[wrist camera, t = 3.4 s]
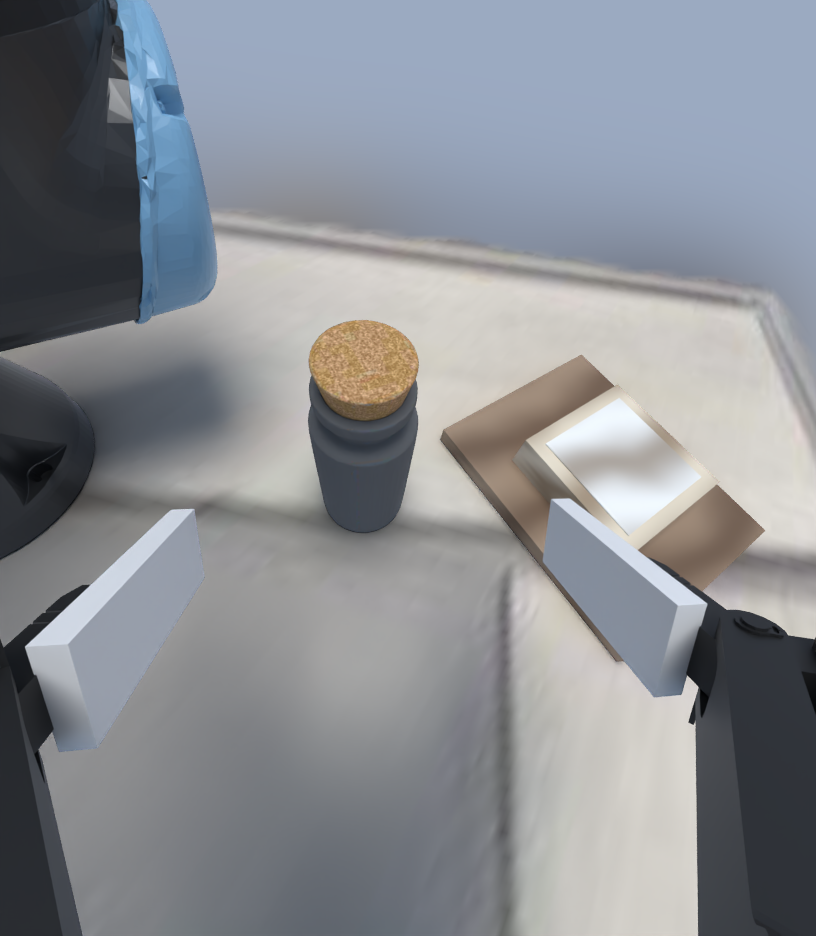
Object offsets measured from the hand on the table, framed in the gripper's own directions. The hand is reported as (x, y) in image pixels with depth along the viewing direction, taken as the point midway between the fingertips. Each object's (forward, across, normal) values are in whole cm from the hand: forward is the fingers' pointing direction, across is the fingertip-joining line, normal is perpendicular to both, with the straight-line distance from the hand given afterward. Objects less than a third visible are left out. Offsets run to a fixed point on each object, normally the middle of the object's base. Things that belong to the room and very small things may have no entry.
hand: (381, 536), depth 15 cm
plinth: (+15, +18, -4) cm, 24 cm away
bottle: (+15, 0, -4) cm, 16 cm away
